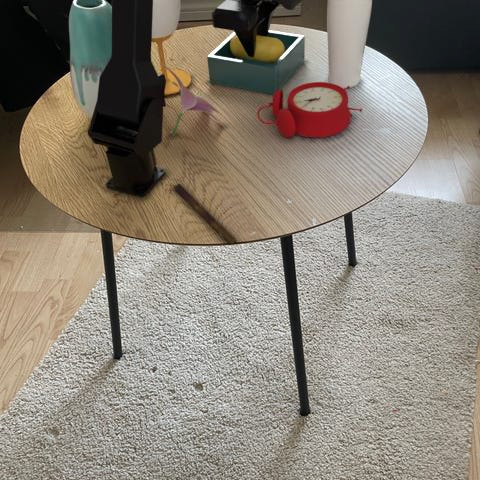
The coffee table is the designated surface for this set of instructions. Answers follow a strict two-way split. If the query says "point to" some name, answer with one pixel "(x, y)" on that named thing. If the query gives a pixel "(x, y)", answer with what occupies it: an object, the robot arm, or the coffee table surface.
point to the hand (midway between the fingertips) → (256, 51)
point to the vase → (89, 49)
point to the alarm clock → (312, 110)
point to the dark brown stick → (205, 215)
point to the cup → (162, 29)
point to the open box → (256, 65)
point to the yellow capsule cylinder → (259, 49)
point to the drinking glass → (346, 39)
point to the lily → (192, 101)
